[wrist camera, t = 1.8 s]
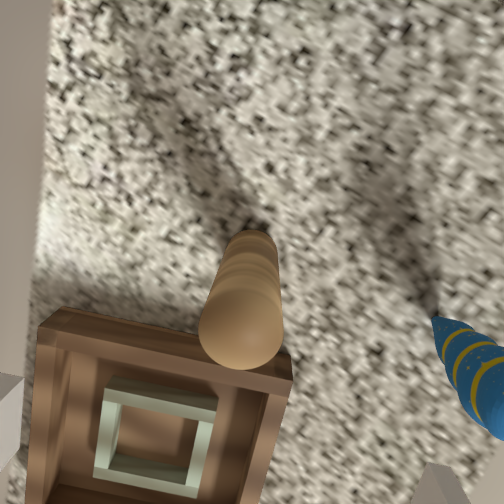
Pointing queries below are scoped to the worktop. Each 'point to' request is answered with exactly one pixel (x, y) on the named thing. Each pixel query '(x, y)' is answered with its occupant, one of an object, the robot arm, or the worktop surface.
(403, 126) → the worktop surface
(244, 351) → the peg
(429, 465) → the robot arm
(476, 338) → the ornament
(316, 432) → the worktop surface
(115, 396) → the box
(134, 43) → the worktop surface
